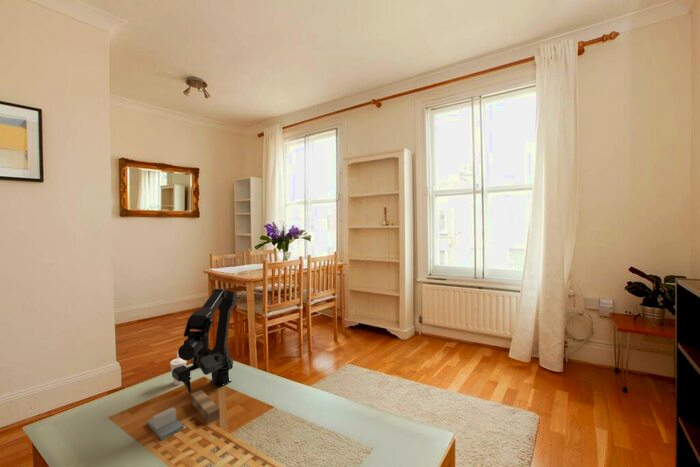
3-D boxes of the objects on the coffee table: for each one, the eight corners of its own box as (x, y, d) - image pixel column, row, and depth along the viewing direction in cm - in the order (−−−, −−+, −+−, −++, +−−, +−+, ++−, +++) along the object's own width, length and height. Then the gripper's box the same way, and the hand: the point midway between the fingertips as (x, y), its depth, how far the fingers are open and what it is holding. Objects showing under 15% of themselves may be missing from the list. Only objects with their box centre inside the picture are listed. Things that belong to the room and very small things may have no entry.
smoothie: (182, 376, 141) (182, 346, 140) (190, 381, 137) (189, 350, 136) (167, 383, 136) (166, 351, 135) (175, 388, 132) (174, 356, 131)
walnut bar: (191, 403, 123) (191, 393, 123) (202, 399, 126) (201, 389, 126) (208, 424, 112) (208, 413, 112) (219, 418, 115) (219, 408, 115)
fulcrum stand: (147, 424, 111) (146, 410, 111) (168, 413, 116) (168, 401, 116) (161, 440, 104) (161, 426, 103) (183, 428, 109) (183, 415, 109)
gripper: (185, 363, 106) (186, 408, 107) (235, 344, 120) (236, 384, 122) (170, 353, 113) (172, 395, 114) (220, 336, 127) (220, 373, 129)
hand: (201, 386), depth 120 cm, fingers open, 9 cm apart
